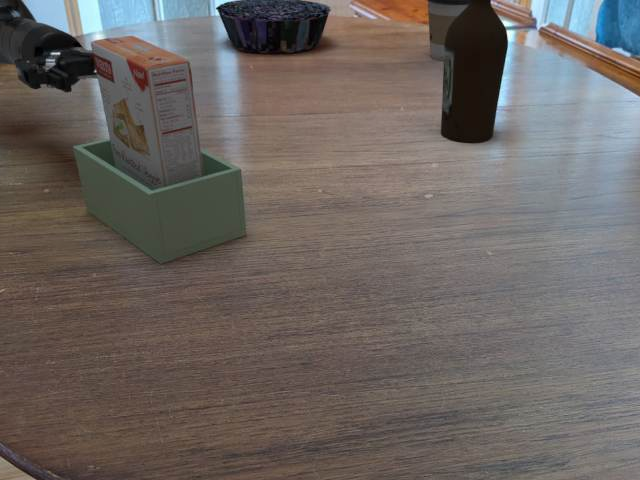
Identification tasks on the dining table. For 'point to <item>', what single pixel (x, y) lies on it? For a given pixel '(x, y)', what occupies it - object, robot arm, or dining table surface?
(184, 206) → the bin
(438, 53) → the coffee cup
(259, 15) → the decorative bowl
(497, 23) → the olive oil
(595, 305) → the dining table surface
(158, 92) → the cracker box
